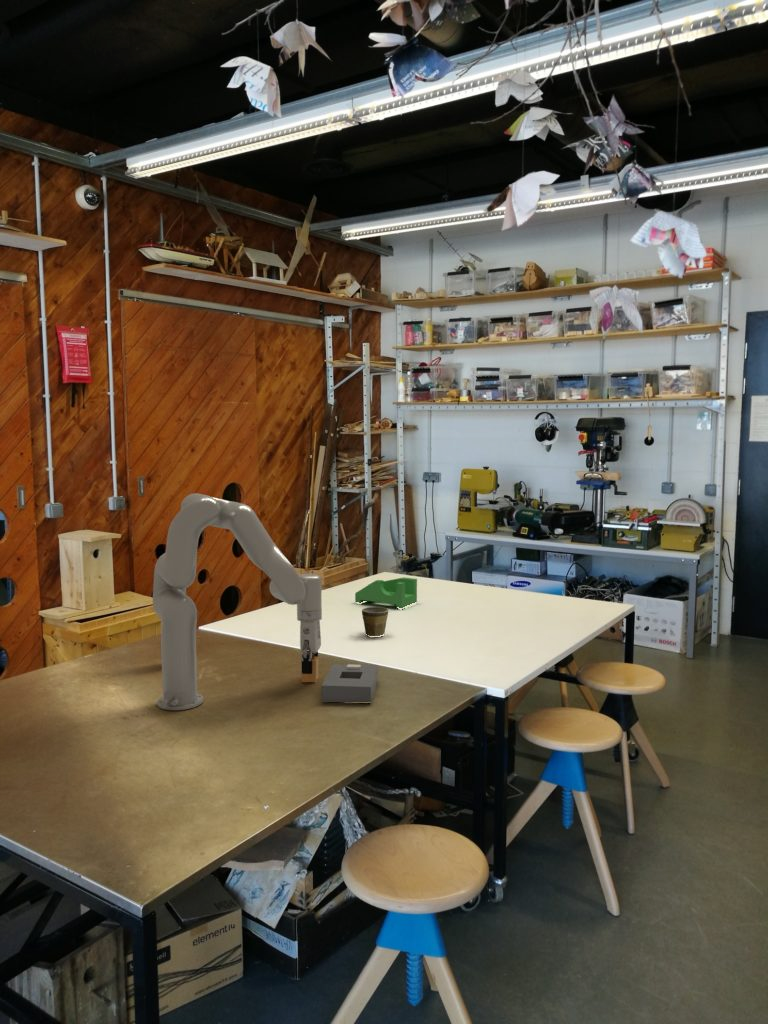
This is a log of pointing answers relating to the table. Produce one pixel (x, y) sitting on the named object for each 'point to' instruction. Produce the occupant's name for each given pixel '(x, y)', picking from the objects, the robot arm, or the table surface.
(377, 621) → the ceramic cup
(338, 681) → the socket
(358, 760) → the table surface
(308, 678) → the plug
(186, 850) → the table surface
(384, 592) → the ramp block with notch
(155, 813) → the table surface
